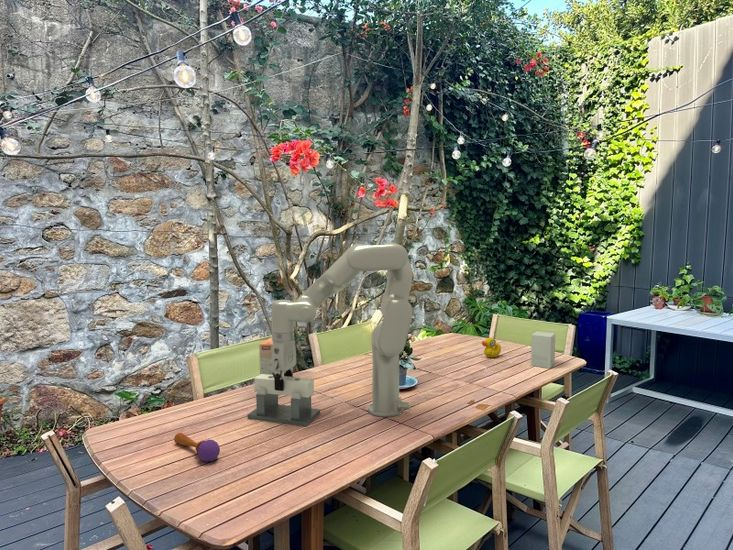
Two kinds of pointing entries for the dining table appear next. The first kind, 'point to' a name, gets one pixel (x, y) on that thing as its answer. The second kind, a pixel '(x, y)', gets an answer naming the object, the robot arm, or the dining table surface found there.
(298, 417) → the rack
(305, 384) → the cream rectangular bar
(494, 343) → the duckling
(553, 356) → the supplement box
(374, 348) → the robot arm
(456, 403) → the dining table surface
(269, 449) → the dining table surface
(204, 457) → the purple maraca
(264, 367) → the cracker box
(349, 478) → the dining table surface
